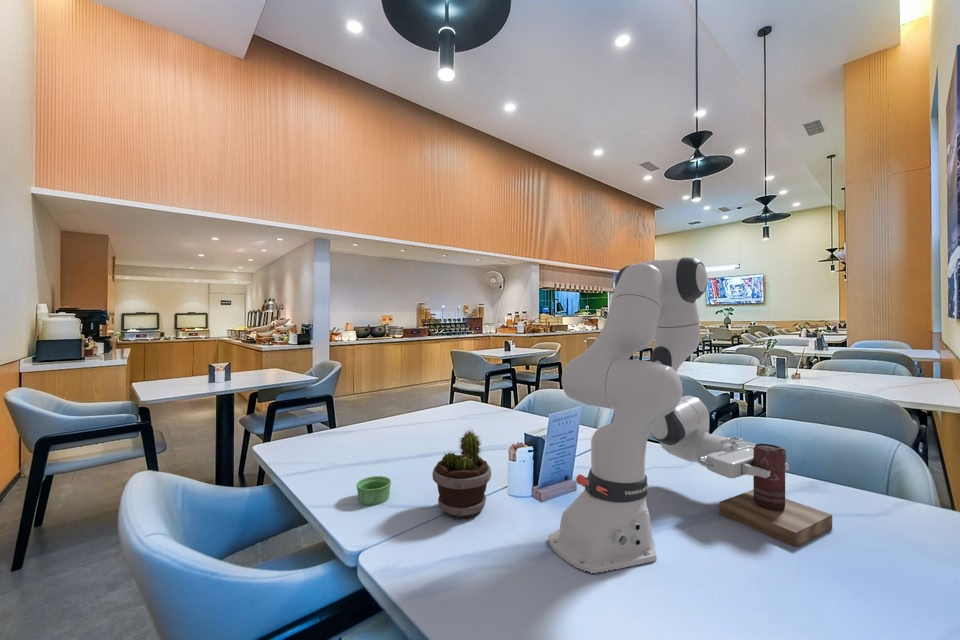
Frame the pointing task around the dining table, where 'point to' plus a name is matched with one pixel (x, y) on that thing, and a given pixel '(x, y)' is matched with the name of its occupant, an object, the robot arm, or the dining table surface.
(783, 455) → the can
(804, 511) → the walnut base
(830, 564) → the dining table surface
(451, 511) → the flowerpot
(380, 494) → the ramekin
